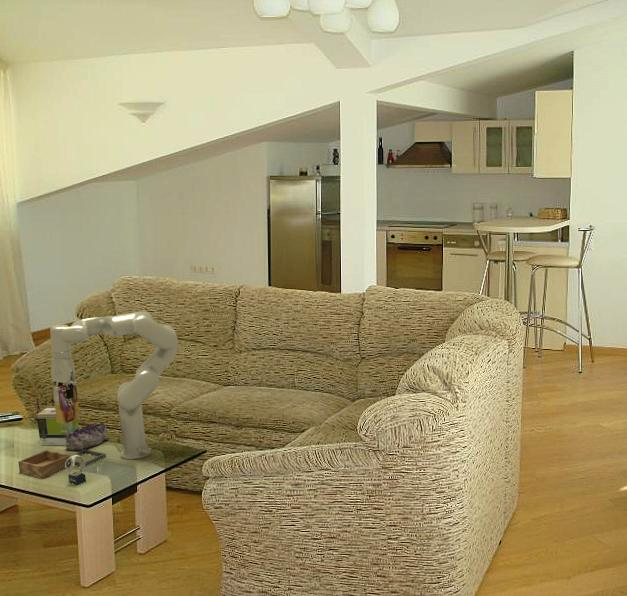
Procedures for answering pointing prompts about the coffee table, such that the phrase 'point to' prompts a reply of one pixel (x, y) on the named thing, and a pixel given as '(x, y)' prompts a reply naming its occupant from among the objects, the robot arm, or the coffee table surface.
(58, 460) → the crate
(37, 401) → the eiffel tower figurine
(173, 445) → the coffee table surface
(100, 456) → the grey square frame
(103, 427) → the geode
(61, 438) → the tea box
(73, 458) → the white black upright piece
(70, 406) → the candy box
